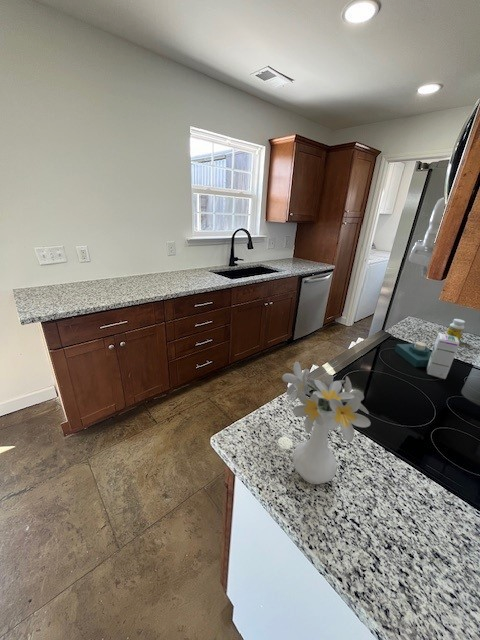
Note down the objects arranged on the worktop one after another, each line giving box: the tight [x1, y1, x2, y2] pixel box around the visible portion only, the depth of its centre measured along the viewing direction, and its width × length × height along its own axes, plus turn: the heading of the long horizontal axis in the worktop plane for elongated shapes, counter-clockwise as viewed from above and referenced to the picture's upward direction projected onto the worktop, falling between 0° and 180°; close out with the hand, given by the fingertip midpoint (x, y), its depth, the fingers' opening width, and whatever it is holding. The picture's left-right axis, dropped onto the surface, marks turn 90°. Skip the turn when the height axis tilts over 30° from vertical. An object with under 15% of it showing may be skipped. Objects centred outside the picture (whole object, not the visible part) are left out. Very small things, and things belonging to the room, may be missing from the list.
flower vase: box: [281, 361, 371, 485], centre depth 54 cm, size 13×18×25 cm
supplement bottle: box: [446, 318, 466, 342], centre depth 119 cm, size 5×5×10 cm
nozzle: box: [414, 341, 427, 350], centre depth 103 cm, size 4×4×2 cm
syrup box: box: [426, 332, 460, 380], centre depth 93 cm, size 6×6×14 cm
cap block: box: [394, 342, 432, 368], centre depth 104 cm, size 12×10×5 cm
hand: (425, 278), depth 104 cm, fingers closed
